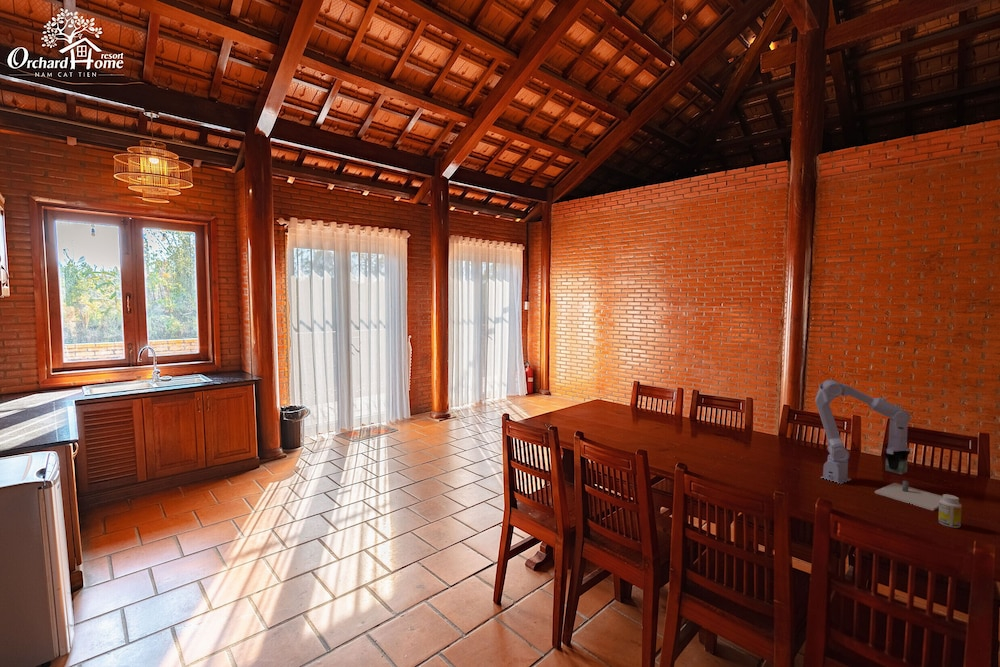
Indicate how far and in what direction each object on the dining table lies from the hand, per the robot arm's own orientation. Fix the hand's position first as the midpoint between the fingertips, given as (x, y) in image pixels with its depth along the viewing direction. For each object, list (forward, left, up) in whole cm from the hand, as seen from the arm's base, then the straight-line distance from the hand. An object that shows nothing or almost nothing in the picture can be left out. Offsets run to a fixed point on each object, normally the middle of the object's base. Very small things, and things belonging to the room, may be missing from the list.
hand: (896, 467), depth 187 cm
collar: (0, 0, -1) cm, 1 cm away
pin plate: (-6, -7, -8) cm, 13 cm away
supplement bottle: (-24, -23, -9) cm, 34 cm away
